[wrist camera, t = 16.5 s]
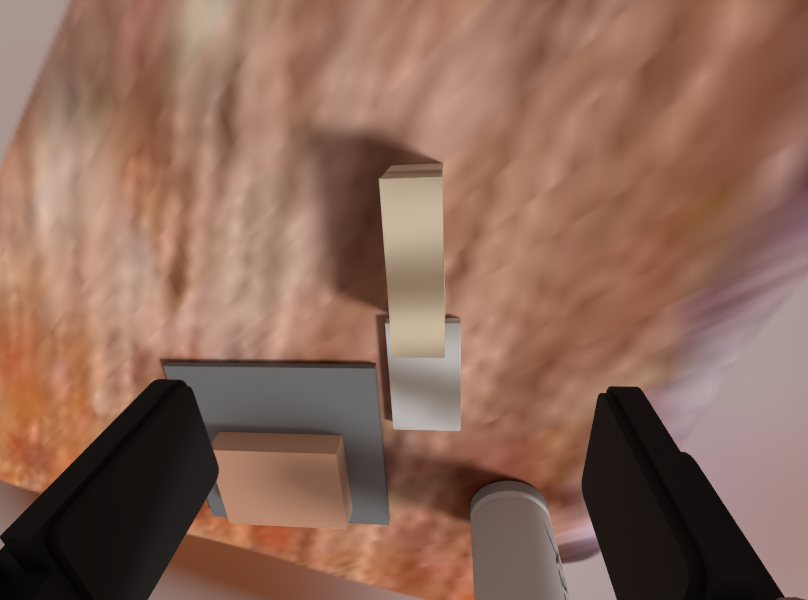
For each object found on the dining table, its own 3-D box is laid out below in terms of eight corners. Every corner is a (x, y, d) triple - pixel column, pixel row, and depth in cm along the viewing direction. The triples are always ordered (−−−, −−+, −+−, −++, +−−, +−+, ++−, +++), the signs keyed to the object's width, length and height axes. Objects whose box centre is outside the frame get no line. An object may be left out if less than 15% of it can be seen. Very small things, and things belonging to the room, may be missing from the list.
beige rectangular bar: (374, 165, 25) (358, 179, 21) (460, 162, 25) (463, 175, 20) (394, 422, 33) (386, 472, 28) (460, 423, 32) (461, 475, 28)
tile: (206, 449, 32) (229, 523, 36) (336, 454, 31) (347, 529, 35) (219, 431, 34) (240, 502, 37) (342, 434, 33) (352, 507, 36)
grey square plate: (167, 361, 32) (162, 366, 32) (375, 364, 31) (374, 368, 30) (216, 510, 39) (213, 516, 39) (389, 518, 37) (388, 524, 37)
